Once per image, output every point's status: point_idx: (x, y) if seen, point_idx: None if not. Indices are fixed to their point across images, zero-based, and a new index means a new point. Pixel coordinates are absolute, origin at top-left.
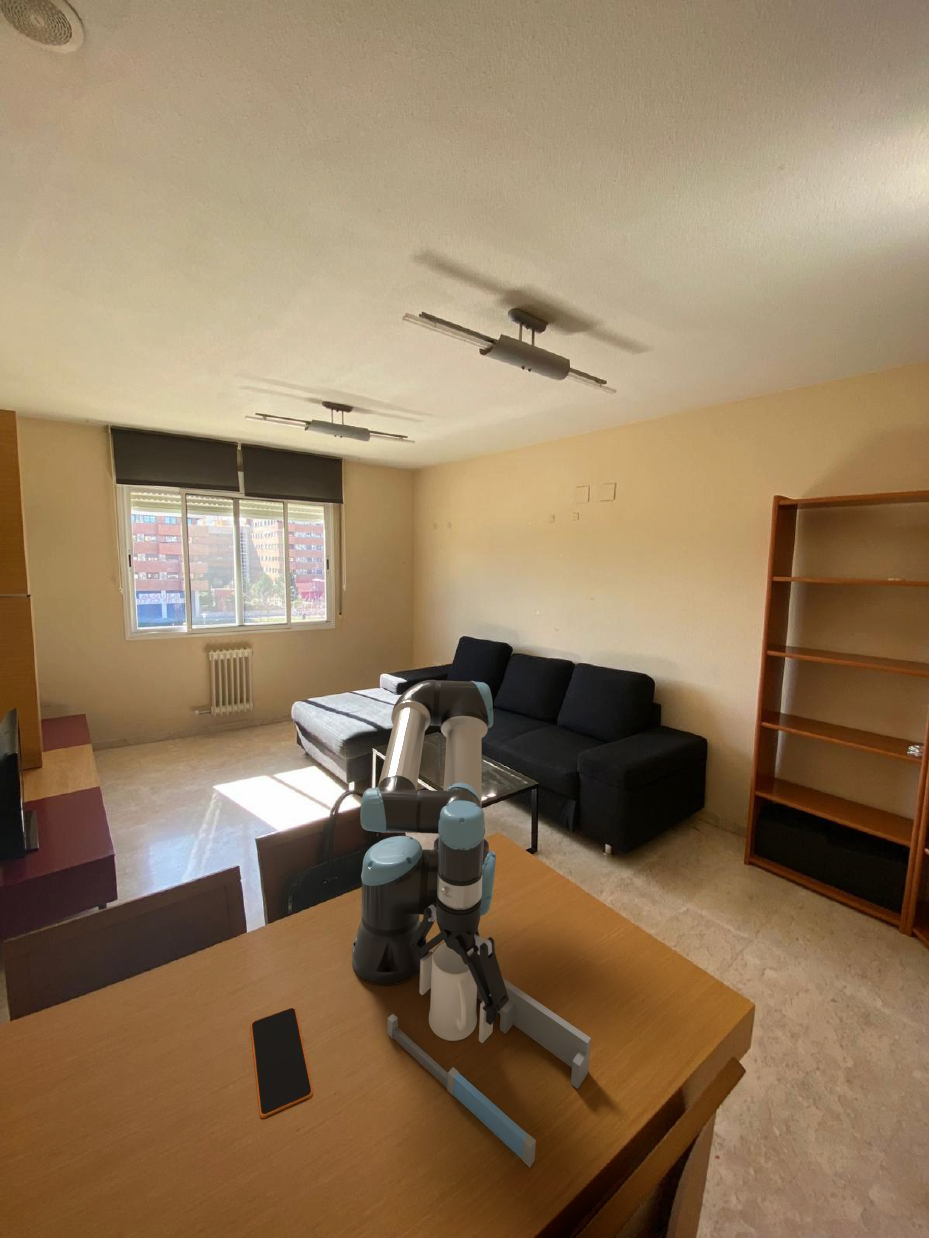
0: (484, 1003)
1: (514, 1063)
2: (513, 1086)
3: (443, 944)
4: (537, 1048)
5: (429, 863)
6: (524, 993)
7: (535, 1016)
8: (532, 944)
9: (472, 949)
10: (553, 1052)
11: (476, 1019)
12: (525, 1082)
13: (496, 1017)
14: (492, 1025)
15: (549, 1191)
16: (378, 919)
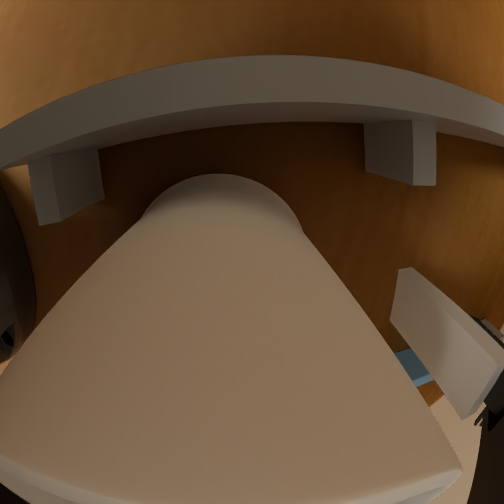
0: (476, 407)
1: (436, 227)
2: (448, 270)
3: (21, 484)
4: (456, 150)
5: None
6: (489, 102)
7: (498, 138)
8: None
9: (253, 490)
10: (482, 141)
11: (292, 213)
12: (463, 244)
13: (478, 321)
14: (426, 280)
15: (497, 323)
16: None
